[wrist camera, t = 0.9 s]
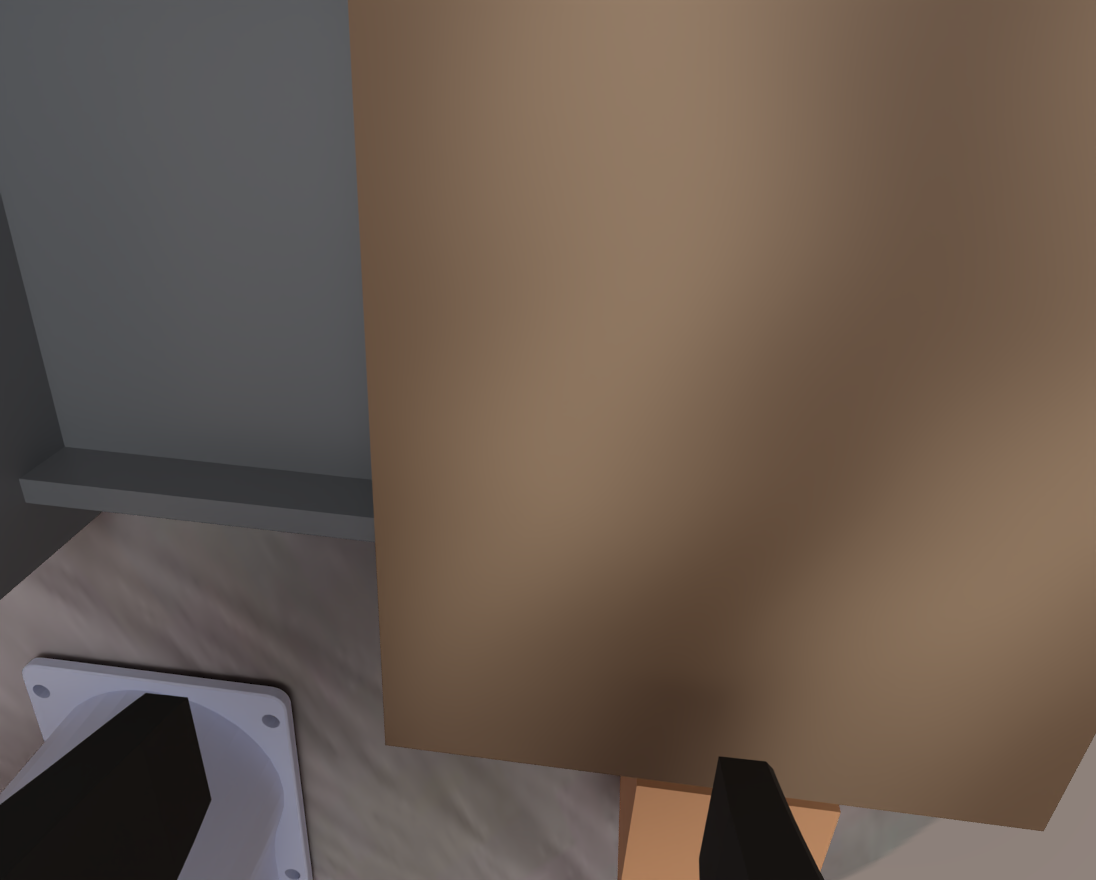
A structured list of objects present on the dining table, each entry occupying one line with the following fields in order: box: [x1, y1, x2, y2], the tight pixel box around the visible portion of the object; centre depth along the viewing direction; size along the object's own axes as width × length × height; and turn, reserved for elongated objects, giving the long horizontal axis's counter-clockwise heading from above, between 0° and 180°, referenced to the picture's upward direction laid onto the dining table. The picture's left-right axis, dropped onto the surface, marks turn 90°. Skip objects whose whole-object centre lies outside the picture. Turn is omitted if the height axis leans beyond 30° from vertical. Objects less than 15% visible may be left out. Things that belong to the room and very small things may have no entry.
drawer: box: [0, 0, 375, 600], centre depth 14 cm, size 10×14×6 cm
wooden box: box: [348, 0, 1096, 831], centre depth 13 cm, size 11×14×7 cm
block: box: [618, 776, 841, 880], centre depth 20 cm, size 4×4×4 cm
